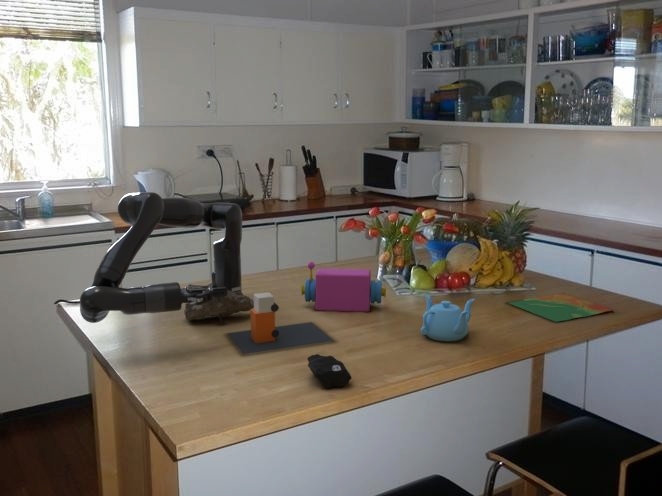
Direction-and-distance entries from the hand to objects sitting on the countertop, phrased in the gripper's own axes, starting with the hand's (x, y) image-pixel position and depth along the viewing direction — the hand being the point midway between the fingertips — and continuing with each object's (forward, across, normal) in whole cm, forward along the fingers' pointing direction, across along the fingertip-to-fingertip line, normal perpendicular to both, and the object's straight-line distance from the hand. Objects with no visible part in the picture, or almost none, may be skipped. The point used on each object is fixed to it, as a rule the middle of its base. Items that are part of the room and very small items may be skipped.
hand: (226, 291), depth 180 cm
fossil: (+4, +23, +16) cm, 28 cm away
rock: (+16, -33, +16) cm, 40 cm away
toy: (+44, +21, +15) cm, 51 cm away
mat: (+15, 0, +16) cm, 22 cm away
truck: (+10, 0, +15) cm, 18 cm away
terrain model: (+109, -8, +15) cm, 111 cm away
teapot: (+61, -16, +16) cm, 65 cm away
